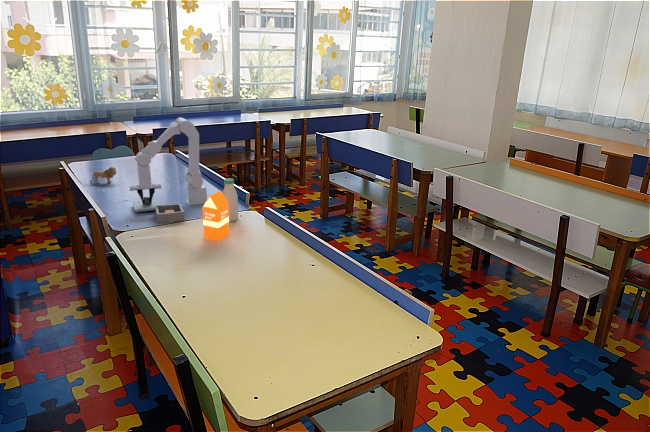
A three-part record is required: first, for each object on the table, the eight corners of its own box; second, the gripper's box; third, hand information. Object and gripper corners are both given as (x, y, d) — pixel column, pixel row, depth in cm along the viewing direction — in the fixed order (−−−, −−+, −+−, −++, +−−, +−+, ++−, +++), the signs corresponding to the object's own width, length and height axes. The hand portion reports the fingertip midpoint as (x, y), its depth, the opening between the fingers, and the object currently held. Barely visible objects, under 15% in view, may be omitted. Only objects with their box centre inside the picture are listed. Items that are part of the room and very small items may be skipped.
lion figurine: (118, 180, 291) (116, 165, 288) (116, 183, 286) (115, 168, 283) (90, 181, 287) (88, 166, 284) (89, 184, 283) (86, 168, 279)
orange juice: (203, 237, 220) (201, 194, 213) (215, 230, 228) (213, 188, 221) (219, 241, 218) (217, 197, 210) (229, 233, 225) (228, 191, 218)
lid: (159, 202, 256) (158, 192, 254) (162, 210, 246) (161, 200, 244) (133, 205, 251) (132, 195, 250) (134, 213, 241) (133, 202, 239)
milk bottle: (241, 219, 242) (240, 179, 235) (228, 223, 237) (227, 182, 230) (231, 215, 247) (230, 176, 240) (218, 218, 242) (217, 179, 234)
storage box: (181, 212, 247) (180, 203, 245) (184, 221, 237) (184, 211, 235) (155, 215, 242) (154, 205, 241) (158, 224, 232) (157, 214, 230)
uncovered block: (173, 215, 242) (173, 209, 241) (174, 218, 238) (174, 212, 237) (165, 216, 240) (164, 210, 239) (166, 219, 237) (165, 213, 236)
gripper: (129, 180, 237) (131, 207, 242) (161, 178, 242) (163, 204, 247) (128, 176, 243) (131, 202, 248) (159, 174, 248) (161, 200, 253)
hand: (147, 203), depth 248 cm, fingers closed on lid, 3 cm apart
